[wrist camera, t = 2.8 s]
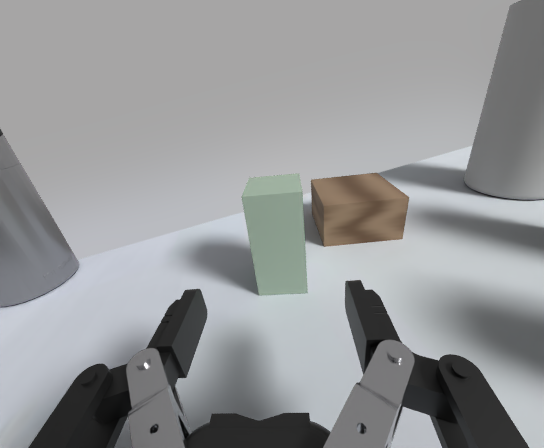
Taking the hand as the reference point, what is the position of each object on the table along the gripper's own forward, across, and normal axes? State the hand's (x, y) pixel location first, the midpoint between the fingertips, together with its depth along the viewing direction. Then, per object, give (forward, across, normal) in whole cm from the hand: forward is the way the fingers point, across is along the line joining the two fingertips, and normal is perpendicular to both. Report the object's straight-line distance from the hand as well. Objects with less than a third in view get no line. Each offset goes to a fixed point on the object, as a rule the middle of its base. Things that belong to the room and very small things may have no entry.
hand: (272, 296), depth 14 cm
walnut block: (+22, -10, +8) cm, 26 cm away
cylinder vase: (+31, -38, +9) cm, 50 cm away
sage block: (+12, 0, +8) cm, 14 cm away
